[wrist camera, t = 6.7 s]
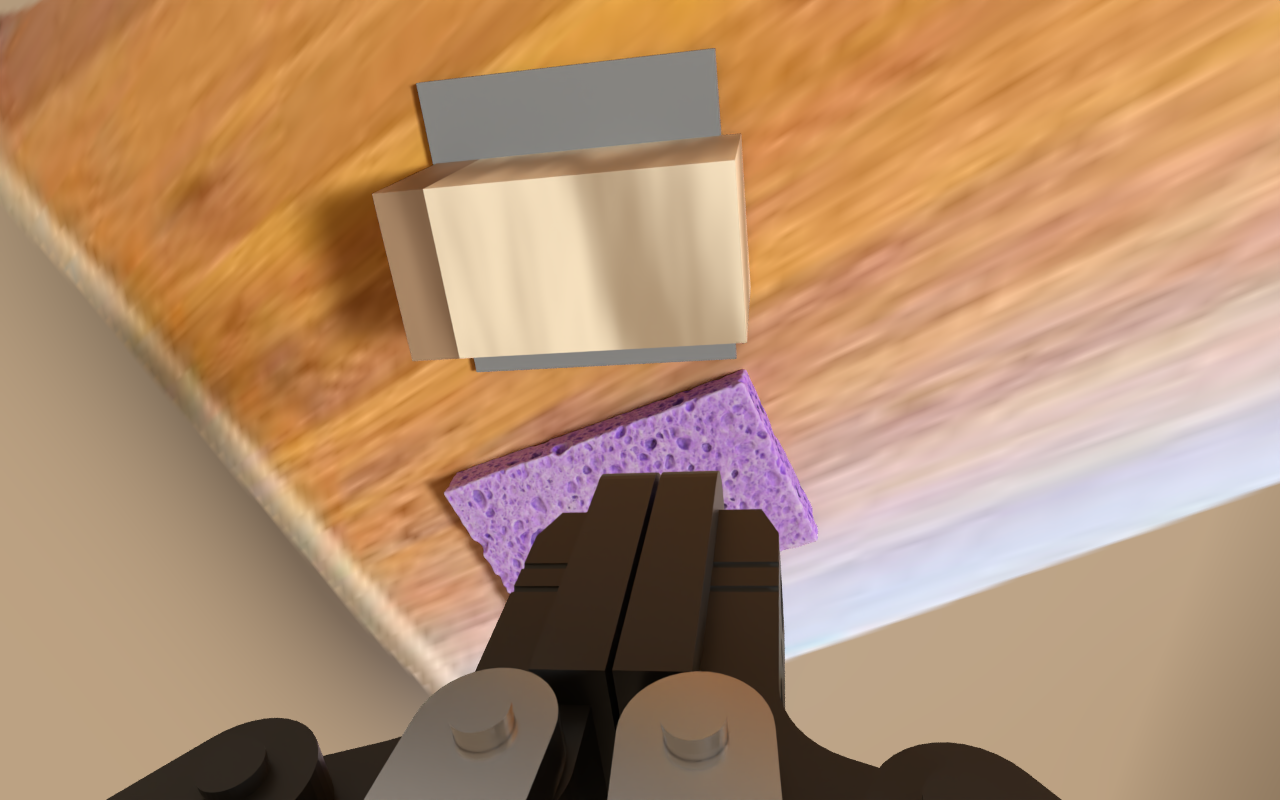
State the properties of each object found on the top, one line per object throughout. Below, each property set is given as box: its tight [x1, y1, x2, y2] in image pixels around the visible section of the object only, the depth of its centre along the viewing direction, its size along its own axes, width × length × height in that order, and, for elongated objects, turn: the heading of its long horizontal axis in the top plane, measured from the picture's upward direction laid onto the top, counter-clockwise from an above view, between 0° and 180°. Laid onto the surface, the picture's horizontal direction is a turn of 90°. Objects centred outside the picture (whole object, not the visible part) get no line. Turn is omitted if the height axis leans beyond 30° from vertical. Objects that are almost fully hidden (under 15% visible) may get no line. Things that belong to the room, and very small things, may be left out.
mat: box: [416, 48, 737, 372], centre depth 28 cm, size 10×10×1 cm
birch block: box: [372, 133, 750, 361], centre depth 25 cm, size 5×5×10 cm
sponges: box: [444, 369, 818, 594], centre depth 32 cm, size 7×13×2 cm, turn 115°
